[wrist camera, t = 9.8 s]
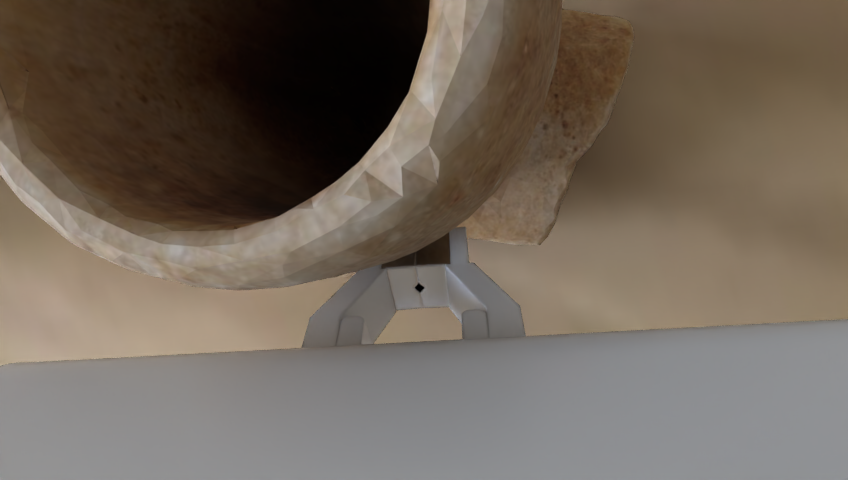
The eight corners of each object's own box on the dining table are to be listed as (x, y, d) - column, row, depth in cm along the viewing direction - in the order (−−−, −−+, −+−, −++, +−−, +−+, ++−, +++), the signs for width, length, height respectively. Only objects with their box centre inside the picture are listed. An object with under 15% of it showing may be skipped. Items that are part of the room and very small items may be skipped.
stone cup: (237, 246, 20) (-371, 198, 6) (288, -2, 21) (-145, -666, 6) (569, 311, 19) (963, 480, 4) (616, 43, 20) (1120, -676, 5)
